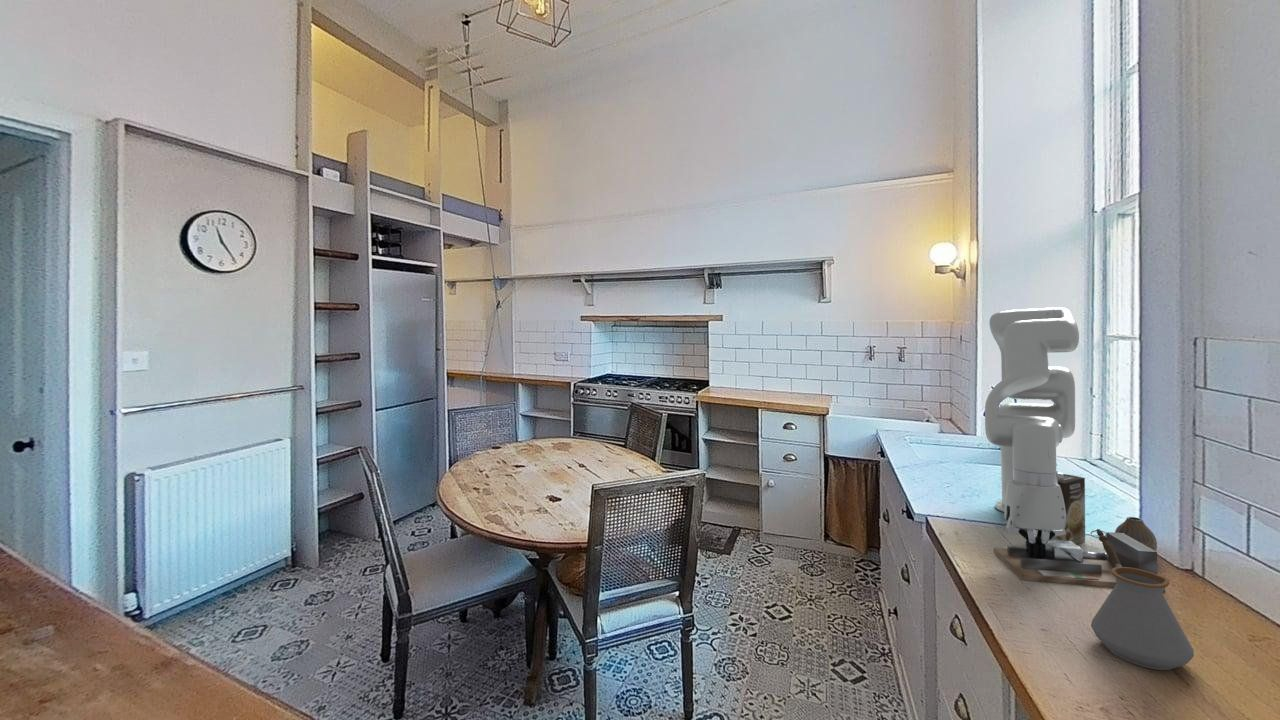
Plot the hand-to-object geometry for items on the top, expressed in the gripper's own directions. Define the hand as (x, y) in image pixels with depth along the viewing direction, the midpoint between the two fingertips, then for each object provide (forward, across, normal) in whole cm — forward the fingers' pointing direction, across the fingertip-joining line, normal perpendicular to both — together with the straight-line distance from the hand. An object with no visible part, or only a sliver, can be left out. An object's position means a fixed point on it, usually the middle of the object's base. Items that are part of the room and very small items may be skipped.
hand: (1035, 558), depth 107 cm
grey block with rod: (+1, -8, +2) cm, 8 cm away
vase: (+2, -23, -10) cm, 26 cm away
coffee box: (+2, -12, -17) cm, 21 cm away
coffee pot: (+2, -2, +26) cm, 26 cm away
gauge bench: (+2, -6, 0) cm, 7 cm away
